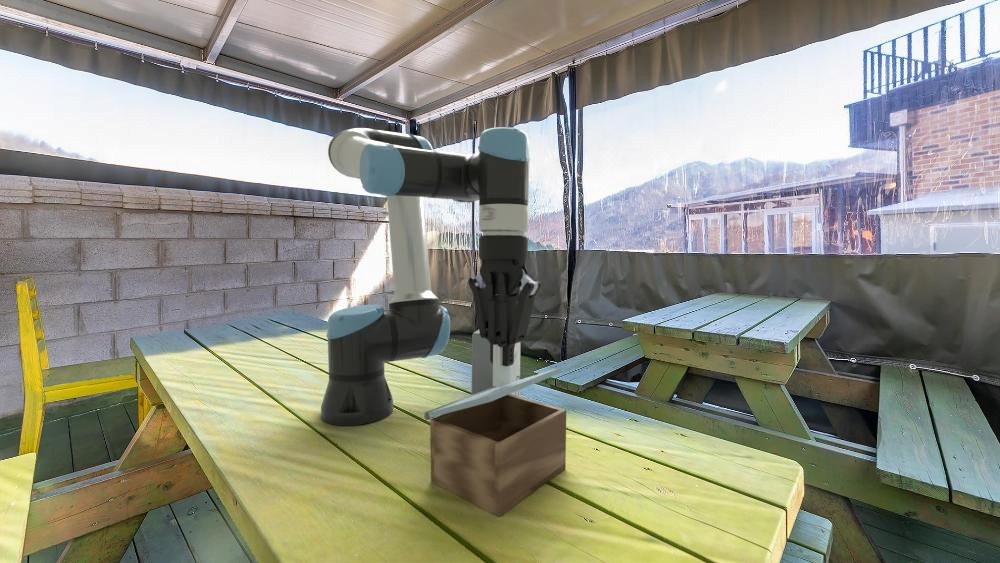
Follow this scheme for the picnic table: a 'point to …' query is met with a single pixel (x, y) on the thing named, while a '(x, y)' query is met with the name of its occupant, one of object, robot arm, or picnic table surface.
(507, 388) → the lid
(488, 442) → the crate
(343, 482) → the picnic table surface
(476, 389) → the hard drive box
